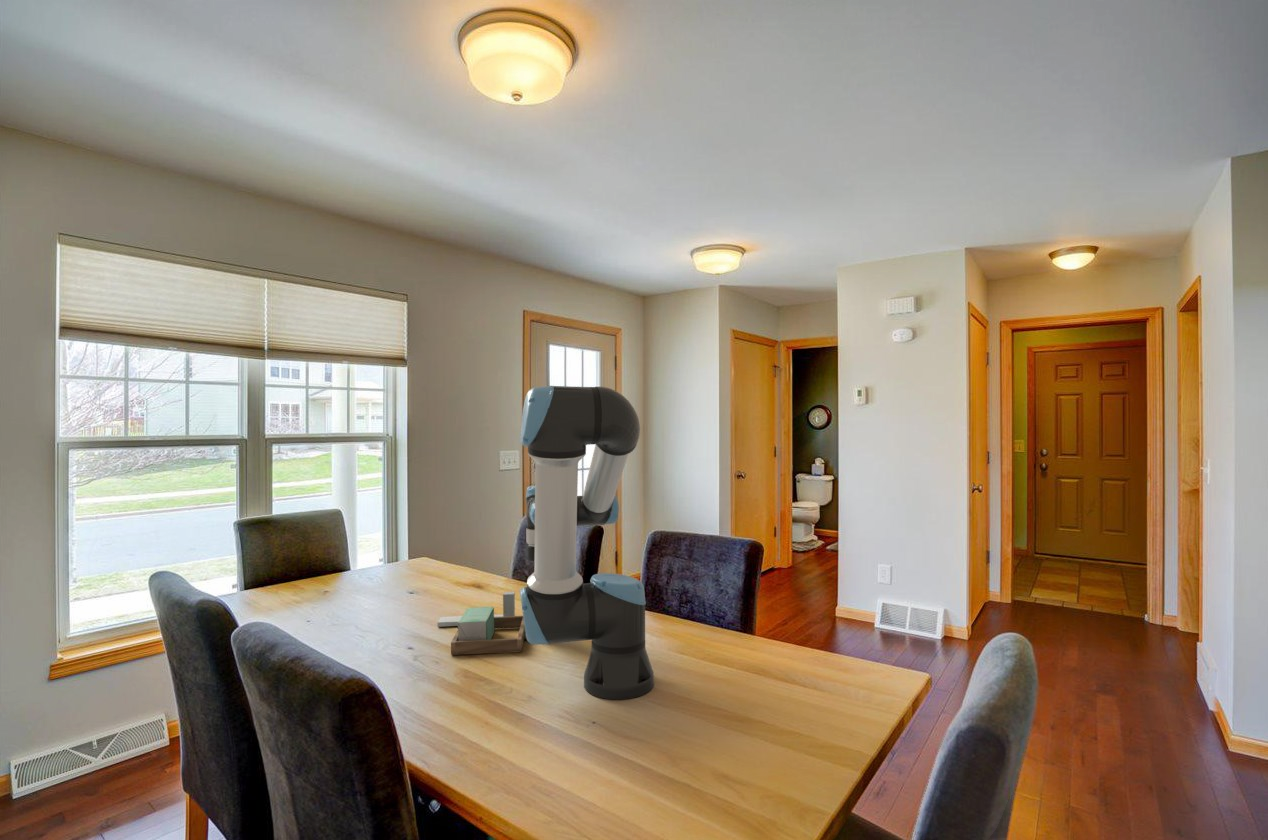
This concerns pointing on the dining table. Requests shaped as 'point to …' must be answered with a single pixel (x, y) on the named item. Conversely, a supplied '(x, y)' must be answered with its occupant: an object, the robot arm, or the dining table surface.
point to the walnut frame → (493, 644)
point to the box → (476, 624)
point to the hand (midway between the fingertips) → (541, 632)
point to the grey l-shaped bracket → (507, 611)
